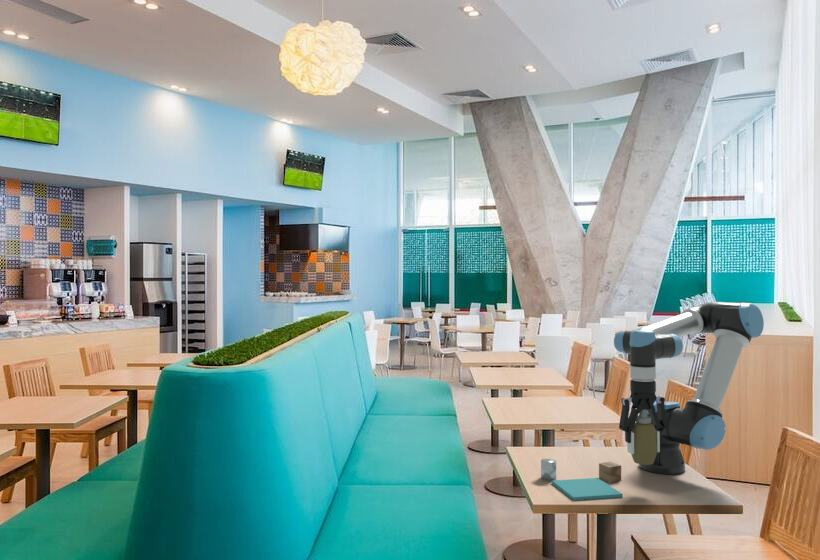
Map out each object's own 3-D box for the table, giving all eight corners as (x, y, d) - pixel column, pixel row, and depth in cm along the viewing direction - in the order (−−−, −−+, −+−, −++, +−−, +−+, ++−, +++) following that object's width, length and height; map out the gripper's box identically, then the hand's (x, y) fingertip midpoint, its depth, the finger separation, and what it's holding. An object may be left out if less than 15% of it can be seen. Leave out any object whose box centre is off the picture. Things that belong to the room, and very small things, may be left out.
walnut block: (610, 476, 216) (610, 461, 216) (621, 480, 211) (621, 465, 211) (598, 478, 214) (599, 463, 214) (609, 482, 209) (609, 467, 209)
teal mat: (597, 480, 211) (597, 477, 211) (622, 497, 195) (622, 493, 195) (551, 483, 208) (551, 480, 208) (573, 500, 192) (573, 497, 192)
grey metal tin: (552, 476, 216) (552, 458, 216) (558, 480, 211) (558, 462, 211) (538, 477, 215) (538, 459, 215) (544, 481, 210) (544, 463, 210)
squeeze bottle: (626, 463, 200) (625, 406, 200) (635, 457, 206) (635, 401, 206) (652, 468, 195) (651, 409, 195) (661, 461, 201) (660, 404, 201)
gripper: (666, 376, 206) (666, 446, 206) (606, 379, 202) (607, 450, 202) (680, 379, 199) (680, 452, 199) (618, 383, 195) (619, 457, 195)
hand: (643, 451), depth 201 cm, fingers closed on squeeze bottle, 8 cm apart
